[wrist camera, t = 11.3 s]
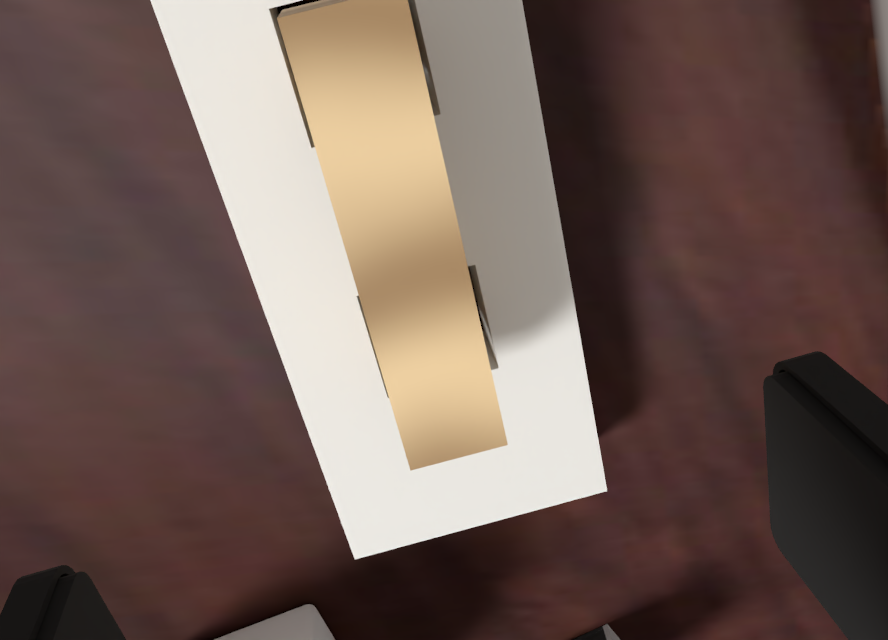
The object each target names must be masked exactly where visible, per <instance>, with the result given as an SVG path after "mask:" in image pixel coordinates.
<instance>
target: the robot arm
mask: <svg viewBox="0 0 888 640" xmlns="http://www.w3.org/2000/svg"><path fill="white" fill-rule="evenodd" d="M763 389H764V408H765V427H766V446H767V466H768V485H769V504H770V523H771V530H772V533H773V537H774V539H775V542H776V544H777V546H778V548H779V549H780V551H781V552H782V554H783V555H784V556H785V558H786V559H787V560H788V561H789V563H790V564H791V565H792V567H793V568H794V569H795V571H796V572H797V573H798V574H799V576H800V577H801V578H802V580H803V581H804V582H805V584H806V585H807V586H808V587H809V589H810V590H811V591H812V593H813V594H814V595H815V597H816V598H817V599H818V600H819V602H820V603H821V604H822V606H823V607H824V608H825V610H826V611H827V612H828V613H829V615H830V616H831V617H832V619H833V620H834V621H835V623H836V624H837V625H838V627H839V628H840V629H841V630H842V632H843V633H844V634H845V636H846V637H847V638H848V640H888V405H887V404H886V403H885V402H884V401H882V400H881V399H880V398H879V397H877V396H876V395H875V394H874V393H873V392H871V391H870V390H869V389H868V388H866V387H865V386H864V385H863V384H861V383H860V382H859V381H858V380H856V379H855V378H854V377H853V376H852V375H850V374H849V373H848V372H847V371H845V370H844V369H843V368H842V367H840V366H839V365H838V364H837V363H836V362H834V361H833V360H832V359H831V358H829V357H828V356H827V355H825V354H824V353H822V352H812V353H809V354H805V355H802V356H798V357H795V358H791V359H788V360H784V361H781V362H778V363H777V364H775V367H774V369H773V375H771V376H767V377H766V378H765V380H764V386H763ZM0 640H126V639H125V637H124V635H123V634H122V632H121V630H120V629H119V627H118V625H117V623H116V622H115V620H114V618H113V616H112V615H111V613H110V611H109V610H108V608H107V606H106V604H105V603H104V601H103V599H102V597H101V596H100V594H99V592H98V591H97V589H96V587H95V585H94V584H93V582H92V580H91V579H90V577H89V576H88V575H87V574H86V573H85V572H78V573H75V572H74V571H73V569H72V568H70V567H69V566H67V565H61V566H58V567H54V568H51V569H47V570H44V571H40V572H37V573H33V574H30V575H26V576H23V577H21V578H19V579H18V580H17V581H16V582H15V584H14V585H13V588H12V590H11V592H10V594H9V597H8V599H7V601H6V603H5V606H4V608H3V610H2V612H1V615H0Z"/></svg>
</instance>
